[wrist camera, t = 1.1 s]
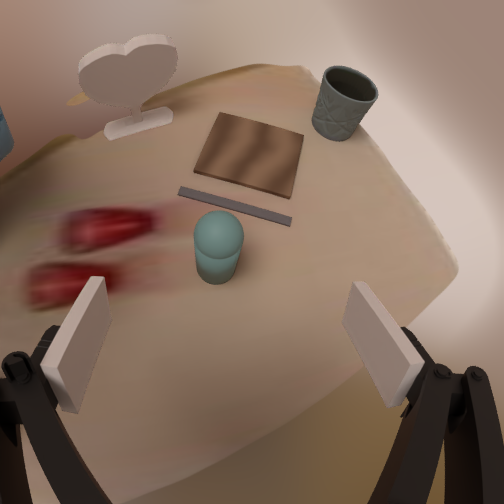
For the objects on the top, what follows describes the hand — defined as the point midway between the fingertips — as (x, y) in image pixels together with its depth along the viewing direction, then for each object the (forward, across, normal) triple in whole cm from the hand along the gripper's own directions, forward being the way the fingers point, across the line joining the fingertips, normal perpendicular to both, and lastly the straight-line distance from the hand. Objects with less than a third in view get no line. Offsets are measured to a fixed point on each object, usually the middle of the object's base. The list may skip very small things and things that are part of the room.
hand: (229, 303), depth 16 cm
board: (+41, +5, +3) cm, 42 cm away
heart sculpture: (+46, -16, +7) cm, 49 cm away
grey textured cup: (+48, +21, +9) cm, 53 cm away
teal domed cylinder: (+27, 0, -12) cm, 29 cm away
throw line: (+34, +2, -5) cm, 34 cm away
